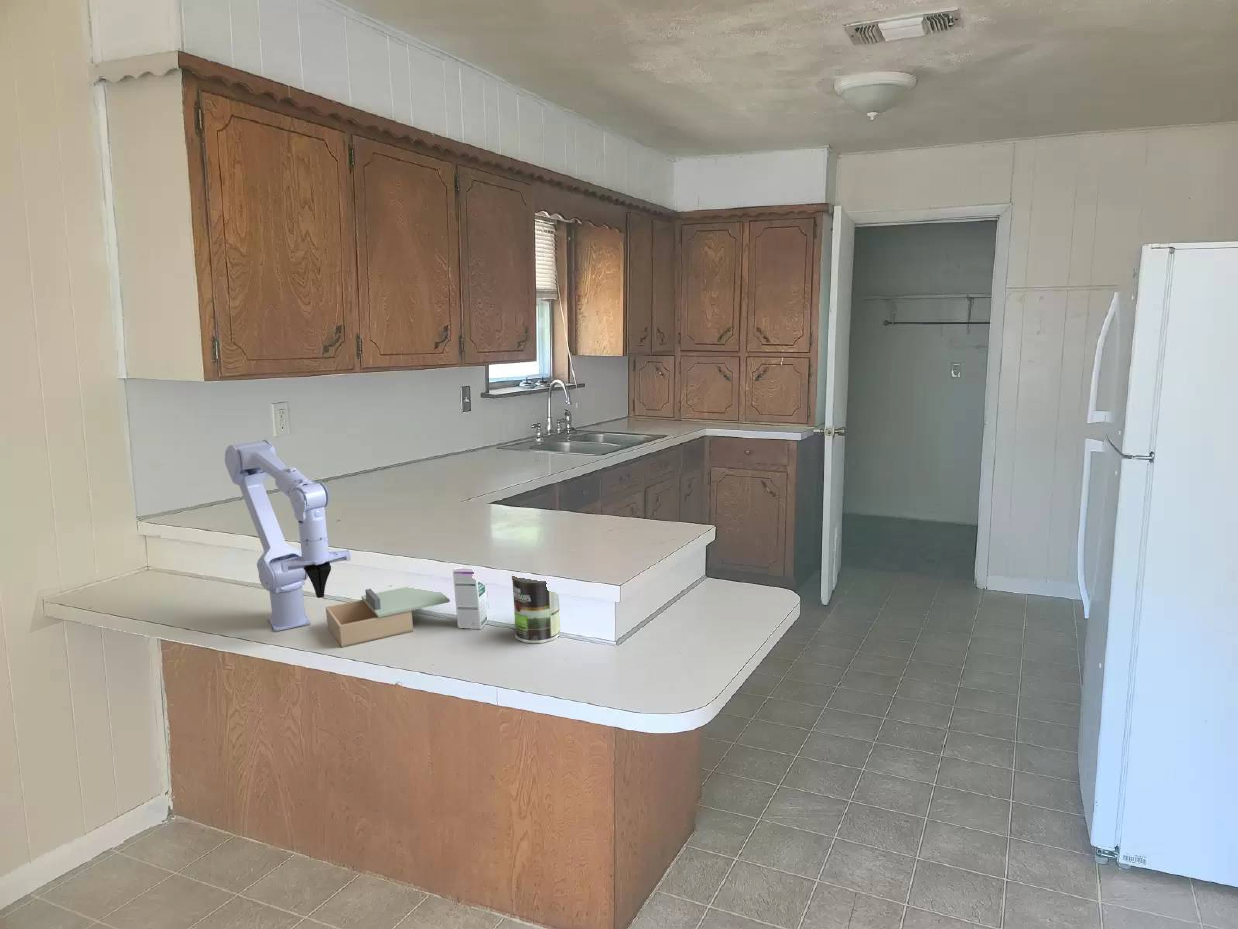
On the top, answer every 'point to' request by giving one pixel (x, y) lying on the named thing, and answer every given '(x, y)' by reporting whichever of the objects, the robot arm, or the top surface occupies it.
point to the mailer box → (364, 623)
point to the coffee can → (535, 611)
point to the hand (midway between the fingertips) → (320, 596)
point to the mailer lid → (402, 600)
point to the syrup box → (469, 599)
